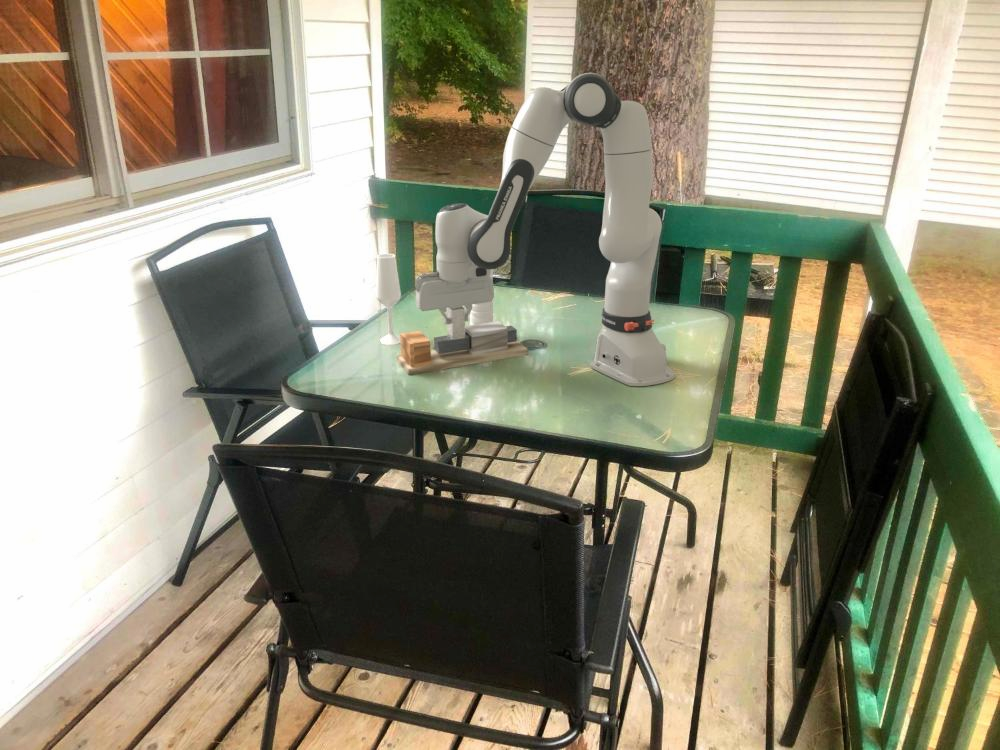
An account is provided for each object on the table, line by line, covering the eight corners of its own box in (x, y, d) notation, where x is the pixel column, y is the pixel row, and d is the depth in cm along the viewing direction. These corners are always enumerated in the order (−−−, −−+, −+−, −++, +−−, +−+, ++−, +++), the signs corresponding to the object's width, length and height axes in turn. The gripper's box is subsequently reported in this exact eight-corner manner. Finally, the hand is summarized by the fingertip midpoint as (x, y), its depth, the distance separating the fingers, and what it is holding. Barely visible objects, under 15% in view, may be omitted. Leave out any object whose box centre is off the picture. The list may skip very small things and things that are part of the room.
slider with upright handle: (517, 341, 205) (517, 301, 200) (439, 354, 197) (437, 312, 192) (510, 337, 208) (511, 296, 204) (433, 349, 200) (432, 307, 195)
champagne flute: (387, 346, 209) (382, 260, 200) (374, 340, 214) (368, 255, 205) (408, 340, 214) (403, 256, 204) (394, 334, 218) (389, 251, 209)
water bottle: (484, 342, 212) (483, 253, 202) (465, 337, 216) (463, 250, 206) (502, 333, 219) (502, 246, 209) (483, 328, 222) (482, 243, 212)
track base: (527, 354, 204) (528, 327, 201) (408, 374, 192) (407, 346, 189) (511, 342, 212) (512, 315, 209) (396, 360, 200) (395, 333, 197)
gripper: (418, 277, 185) (421, 331, 191) (496, 268, 193) (496, 320, 198) (410, 271, 191) (413, 324, 196) (486, 262, 198) (487, 313, 204)
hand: (455, 322), depth 197 cm, fingers closed on slider with upright handle, 3 cm apart
